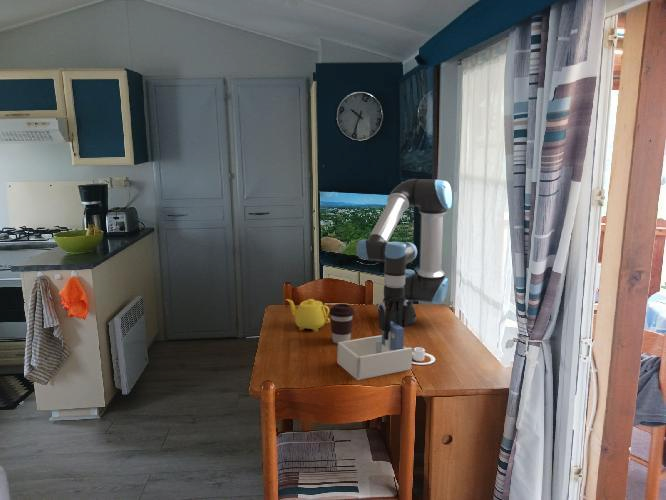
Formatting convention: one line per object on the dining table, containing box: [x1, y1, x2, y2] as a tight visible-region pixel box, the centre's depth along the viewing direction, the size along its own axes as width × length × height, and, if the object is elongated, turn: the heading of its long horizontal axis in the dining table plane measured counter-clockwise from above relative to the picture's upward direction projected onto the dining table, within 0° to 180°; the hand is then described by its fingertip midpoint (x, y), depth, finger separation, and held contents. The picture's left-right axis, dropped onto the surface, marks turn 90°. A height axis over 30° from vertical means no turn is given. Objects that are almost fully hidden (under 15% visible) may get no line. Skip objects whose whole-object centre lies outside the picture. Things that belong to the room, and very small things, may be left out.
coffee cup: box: [329, 303, 355, 344], centre depth 222 cm, size 10×10×15 cm
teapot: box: [285, 298, 331, 333], centre depth 239 cm, size 14×20×13 cm
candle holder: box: [412, 347, 436, 366], centre depth 207 cm, size 12×12×4 cm
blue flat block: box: [381, 321, 405, 351], centre depth 201 cm, size 3×10×9 cm, turn 25°
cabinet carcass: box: [336, 334, 413, 381], centre depth 199 cm, size 22×16×8 cm
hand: (392, 346), depth 202 cm, fingers closed on blue flat block, 3 cm apart
